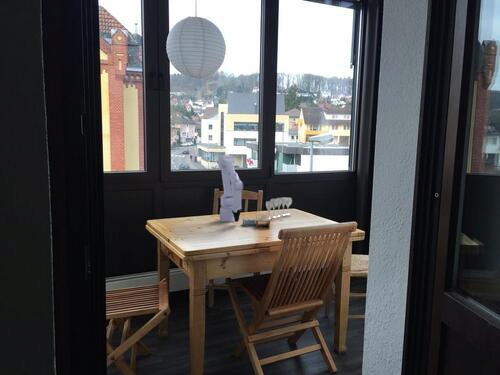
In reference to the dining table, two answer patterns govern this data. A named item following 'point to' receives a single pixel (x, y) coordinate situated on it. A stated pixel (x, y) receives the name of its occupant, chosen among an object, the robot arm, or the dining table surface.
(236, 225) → the dining table surface
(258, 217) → the walnut shelf
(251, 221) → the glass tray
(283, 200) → the goblet set
